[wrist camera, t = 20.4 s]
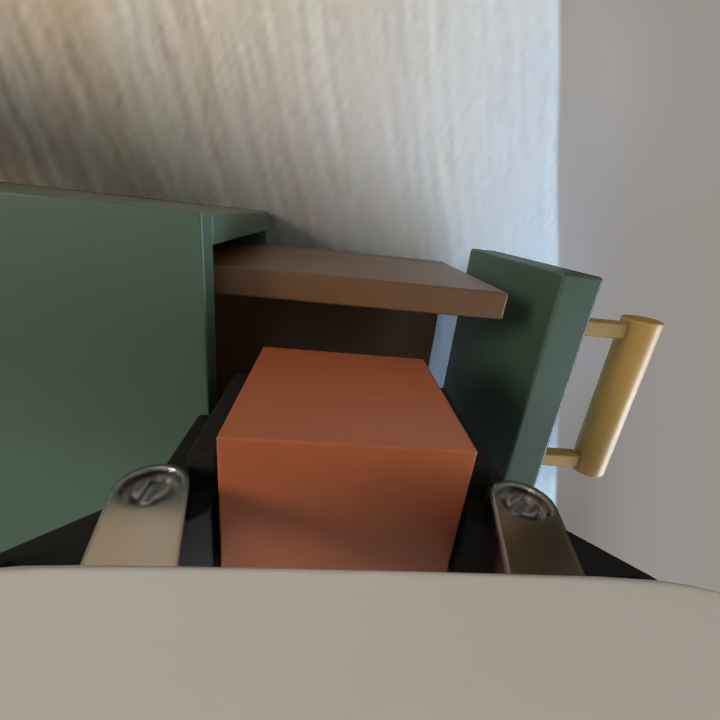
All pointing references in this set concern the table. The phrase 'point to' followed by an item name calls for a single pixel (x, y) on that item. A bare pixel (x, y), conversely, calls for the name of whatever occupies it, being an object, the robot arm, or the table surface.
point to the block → (341, 465)
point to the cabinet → (101, 342)
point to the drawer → (470, 343)
